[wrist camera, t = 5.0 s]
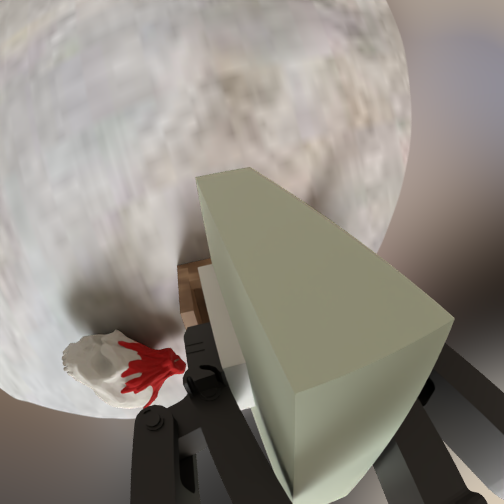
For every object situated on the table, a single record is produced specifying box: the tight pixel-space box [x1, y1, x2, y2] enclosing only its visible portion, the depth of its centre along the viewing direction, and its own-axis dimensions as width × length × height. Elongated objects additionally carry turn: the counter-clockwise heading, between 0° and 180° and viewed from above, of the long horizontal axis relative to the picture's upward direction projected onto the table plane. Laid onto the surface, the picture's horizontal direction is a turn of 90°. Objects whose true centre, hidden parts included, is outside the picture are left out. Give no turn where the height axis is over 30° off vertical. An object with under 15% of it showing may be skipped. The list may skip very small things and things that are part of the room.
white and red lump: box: [62, 330, 186, 409], centre depth 32 cm, size 9×11×15 cm
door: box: [195, 167, 455, 504], centre depth 10 cm, size 11×2×11 cm, turn 6°
